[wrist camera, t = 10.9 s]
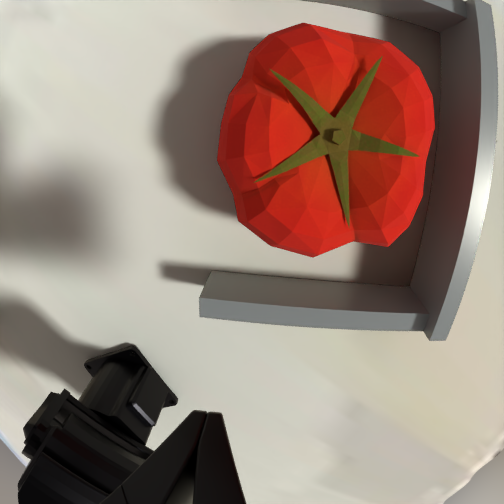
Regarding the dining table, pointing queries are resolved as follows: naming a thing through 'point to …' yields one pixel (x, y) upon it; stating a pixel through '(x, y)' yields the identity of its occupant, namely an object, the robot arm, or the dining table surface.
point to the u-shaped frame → (439, 208)
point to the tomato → (326, 140)
